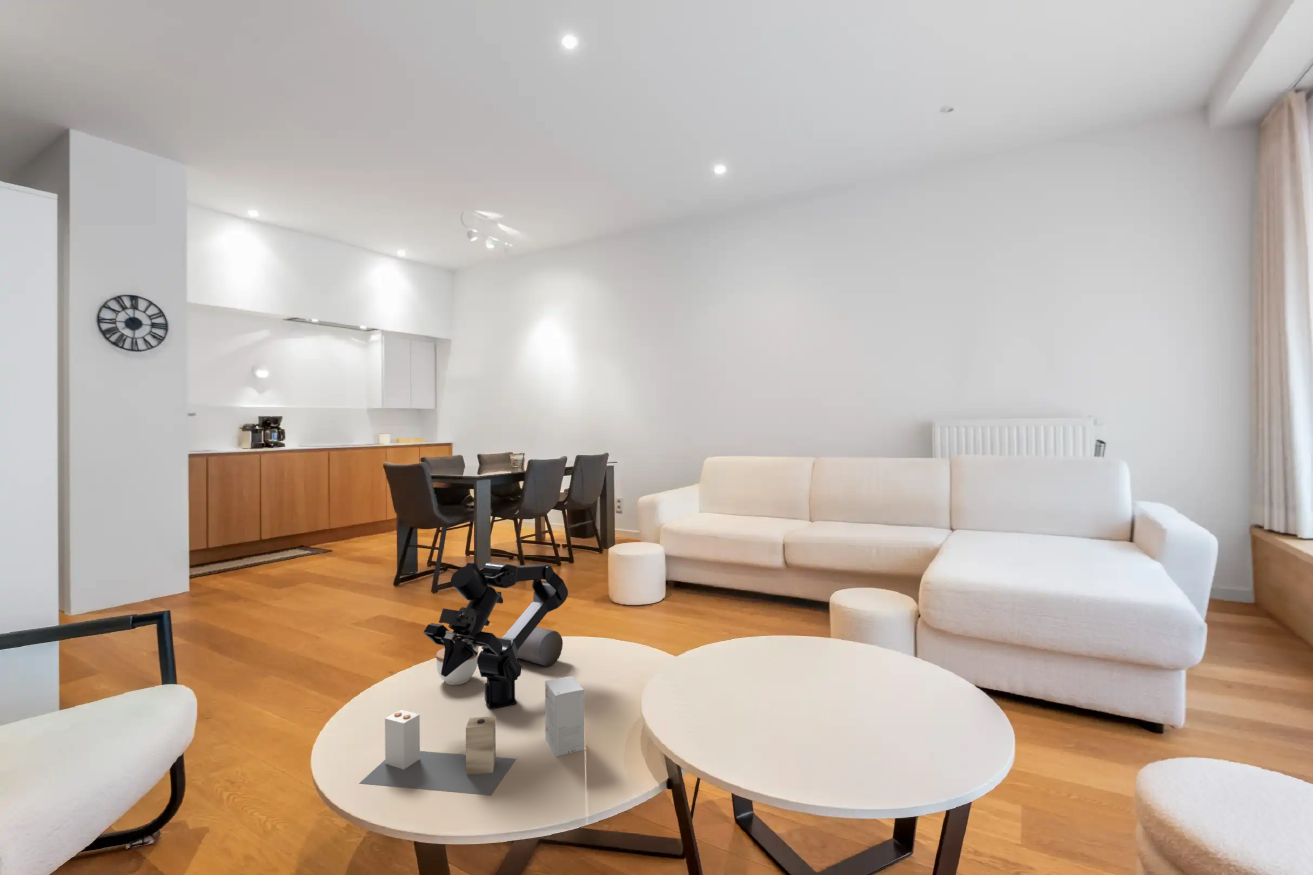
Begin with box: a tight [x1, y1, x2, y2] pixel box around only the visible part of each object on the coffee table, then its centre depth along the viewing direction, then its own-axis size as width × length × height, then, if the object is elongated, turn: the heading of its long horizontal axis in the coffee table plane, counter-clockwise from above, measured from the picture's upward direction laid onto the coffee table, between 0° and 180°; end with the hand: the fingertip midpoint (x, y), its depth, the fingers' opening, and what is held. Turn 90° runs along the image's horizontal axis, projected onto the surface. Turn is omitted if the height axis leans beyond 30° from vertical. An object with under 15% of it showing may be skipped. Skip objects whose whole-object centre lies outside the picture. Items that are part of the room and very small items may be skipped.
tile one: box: [465, 715, 497, 775], centre depth 114 cm, size 4×5×9 cm
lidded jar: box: [435, 647, 479, 686], centre depth 157 cm, size 11×11×9 cm
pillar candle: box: [517, 626, 564, 667], centre depth 171 cm, size 10×10×15 cm
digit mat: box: [358, 750, 517, 796], centre depth 114 cm, size 26×12×1 cm, turn 82°
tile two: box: [384, 709, 421, 769], centre depth 117 cm, size 4×5×9 cm
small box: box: [544, 675, 585, 757], centre depth 123 cm, size 8×6×13 cm
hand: (443, 675), depth 127 cm, fingers closed
